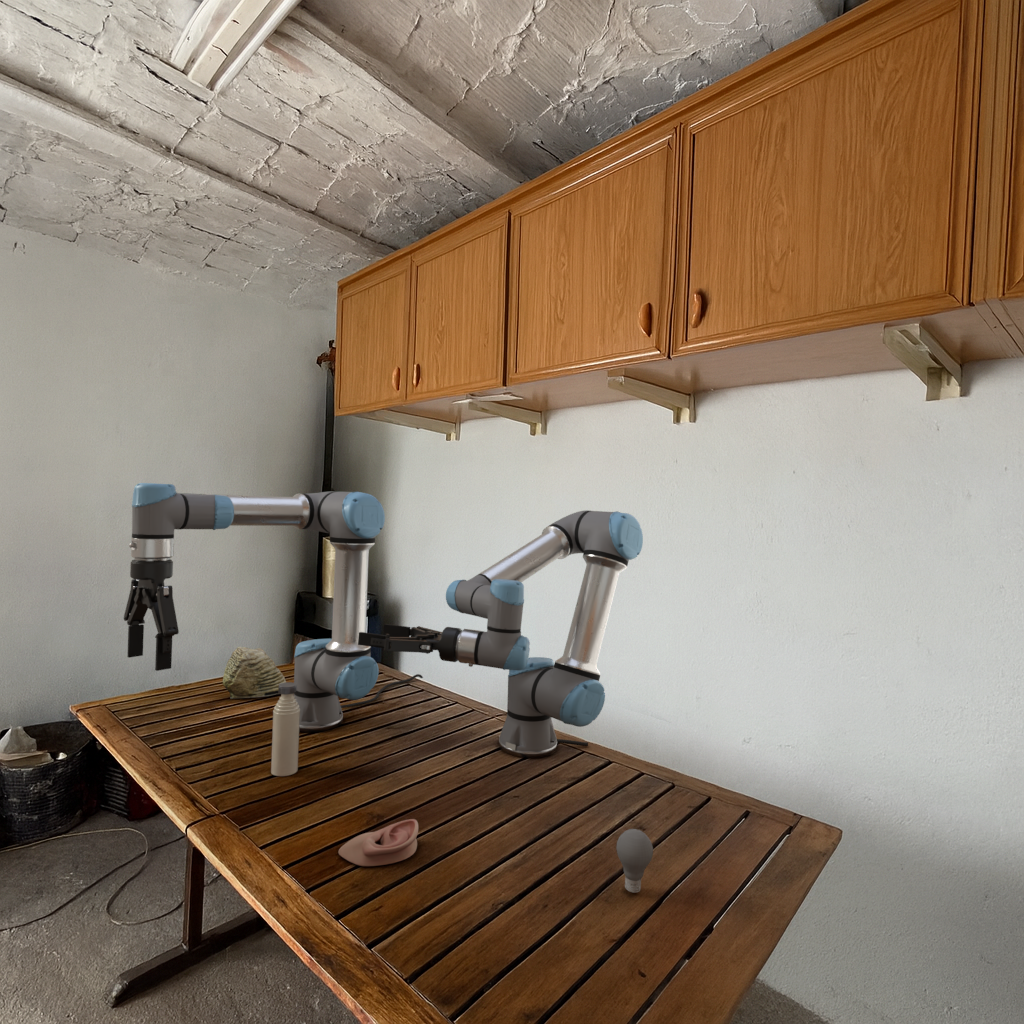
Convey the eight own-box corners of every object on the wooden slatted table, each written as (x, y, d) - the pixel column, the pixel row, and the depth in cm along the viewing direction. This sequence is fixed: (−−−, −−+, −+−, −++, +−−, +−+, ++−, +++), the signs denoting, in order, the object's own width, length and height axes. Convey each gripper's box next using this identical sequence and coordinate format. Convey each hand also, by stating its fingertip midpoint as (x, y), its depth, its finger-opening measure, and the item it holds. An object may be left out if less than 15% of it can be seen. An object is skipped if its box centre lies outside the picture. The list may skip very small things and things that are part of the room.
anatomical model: (330, 838, 110) (359, 807, 121) (329, 861, 110) (358, 828, 121) (402, 850, 107) (425, 817, 119) (401, 873, 108) (424, 838, 119)
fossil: (218, 695, 195) (220, 647, 195) (278, 685, 208) (279, 640, 207) (228, 703, 189) (230, 653, 188) (289, 692, 201) (290, 645, 201)
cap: (298, 689, 147) (298, 682, 147) (293, 694, 143) (293, 687, 143) (281, 689, 147) (281, 681, 147) (276, 694, 143) (276, 686, 143)
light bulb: (610, 879, 108) (613, 822, 108) (644, 879, 109) (647, 822, 109) (619, 902, 102) (622, 840, 102) (655, 901, 103) (658, 840, 103)
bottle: (300, 765, 149) (303, 683, 148) (293, 776, 143) (296, 690, 142) (275, 765, 148) (278, 682, 148) (267, 776, 142) (270, 689, 142)
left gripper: (108, 554, 134) (104, 654, 134) (159, 565, 118) (155, 678, 119) (146, 552, 140) (143, 648, 140) (199, 563, 124) (195, 671, 124)
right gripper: (441, 673, 130) (345, 660, 134) (473, 652, 154) (391, 641, 158) (444, 637, 130) (349, 624, 134) (476, 621, 154) (394, 611, 159)
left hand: (148, 662), depth 129 cm, fingers open, 13 cm apart
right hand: (372, 633), depth 146 cm, fingers open, 13 cm apart
